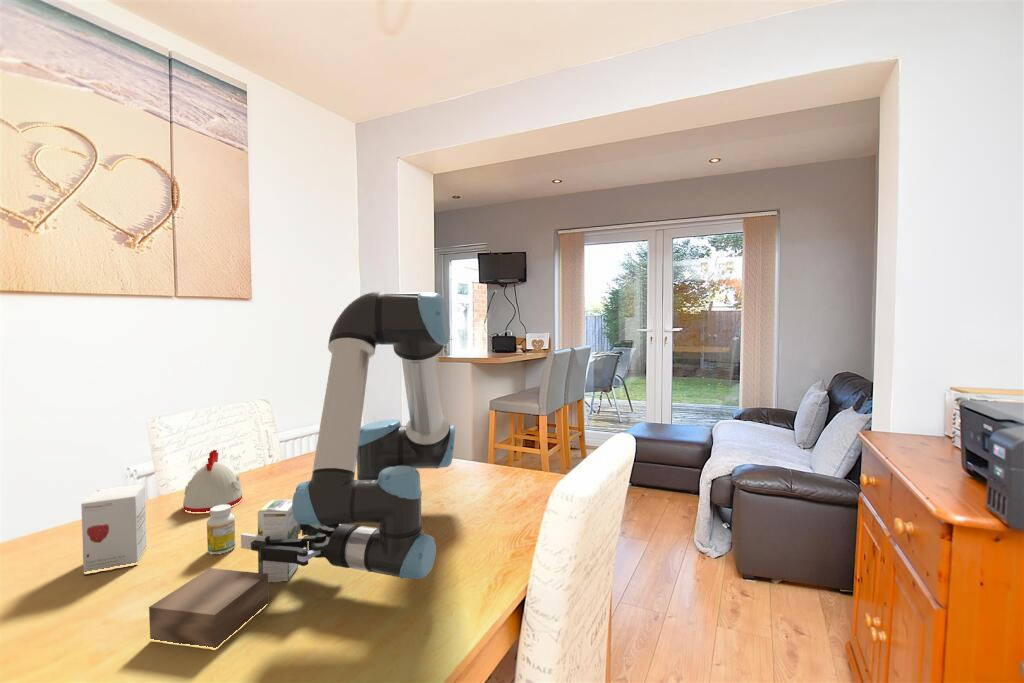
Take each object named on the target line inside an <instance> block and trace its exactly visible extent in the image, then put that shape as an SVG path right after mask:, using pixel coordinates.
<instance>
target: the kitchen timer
mask: <svg viewBox="0 0 1024 683" xmlns="http://www.w3.org/2000/svg"><path fill="white" fill-rule="evenodd" d="M208 455H209V457H208V458H207V463H206V464H205V465H203V466H202V467H200V468H199V469H198V470H197V471H196V472H195V474H194V475H193V476H192V478H191V479H190V480H189V481H188V483H187V485H185V487H184V499H183V503H182V504H183V505H182V507H184V509H185V510H187V511H191V512H206V511H210V509H211V508H212V507H215V506H218V505H225V504H226V505H231V506H232V505H234V504H236V503H238V502H239V501H240V500H241V499H242V500H243V492H242V484H241V480H240V475H239V474H238V475H236V474H235V473H234V472H233V471H232V470H231V469H230V468H229V467H228V466H226V465H225V464H224V463H221V462H219V461H218V460H219V452H218V450H217V449H213V450H211V451H210V452H209V453H208Z"/></svg>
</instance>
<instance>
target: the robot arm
mask: <svg viewBox="0 0 1024 683" xmlns="http://www.w3.org/2000/svg"><path fill="white" fill-rule="evenodd" d="M446 304H447V303H446V301H445V299H444V297H443V296H442V295H441V294H440V293H437V292H426V291H419V292H398V291H396V292H390V291H389V292H381V291H374V292H369V293H365V294H362V295H360V296H358V297H357V298H356V299H354V300H353V301H352V302H350V303H349V304H348V305H347V306H346V307H345V308H344V310H342V312H341V313H340V314H339V316H338V318H337V319H336V320H335V322H334V323H333V326H332V329H331V332H330V335H329V339H328V344H327V350H328V351H329V353H330V354H331V358H330V364H329V365H330V366H329V369H328V375H327V383H326V389H325V394H324V401H323V406H322V412H321V419H320V424H319V431H318V436H317V441H316V442H317V443H316V449H315V453H314V460H313V466H312V474H311V479H310V480H306V481H301V482H300V483H299V484H298V485H297V486H296V488H295V492H294V494H293V496H292V500H293V501H292V513H293V517H294V519H295V521H296V522H298V535H300V534H301V537H303V538H298V539H280V540H271V537H270V536H261V535H258V534H253V533H247V532H243V533H241V534H240V548H241V549H243V550H245V549H246V550H250V551H254V552H258V551H259V552H260V560H262V561H273V562H284V563H296V564H298V566H301V567H305V566H308V565H309V560H311V559H312V558H315V559H319V558H325V559H326V560H327V562H328V563H329V564H330V565H332V566H334V567H339V568H345V569H353V570H358V571H365V572H368V573H376V574H380V575H386V576H391V577H397V578H400V579H410V580H423V579H425V578H426V577H427V576H428V575H429V574H430V573H431V570H432V569H433V567H434V564H435V561H436V560H435V559H436V555H437V544H436V542H435V538H434V537H433V536H431V535H429V534H427V533H423V526H422V490H421V489H422V488H421V475H420V472H419V469H438V470H439V469H441V468H442V469H443V468H448V467H450V466H451V465H452V463H453V457H454V448H455V447H454V446H455V437H456V436H455V435H456V426H455V425H454V424H451V423H450V422H449V420H448V419H447V417H446V416H445V415H444V414H443V413H444V412H443V400H442V388H441V375H440V362H439V355H440V354H441V353H442V351H443V349H444V347H445V345H447V344H448V343H449V342H450V338H451V336H450V333H451V332H450V330H451V329H450V322H449V318H450V317H449V312H448V308H447V305H446ZM378 345H381V346H382V345H385V346H386V345H388V346H390V345H392V346H393V351H394V353H395V355H396V356H397V357H398V358H400V359H401V363H402V371H403V377H404V385H405V392H406V400H407V401H406V402H407V409H408V414H409V420H408V421H407V423H406V425H402V423H401V421H400V420H399V419H384V420H379V421H373V422H370V423H367V424H364V425H363V426H362V420H363V419H362V418H363V410H364V403H365V397H366V396H365V395H366V387H367V381H368V380H367V379H368V371H369V362H370V358H373V356H375V354H376V346H378ZM355 474H356V476H357V477H356V479H355ZM358 524H378V527H374V526H373V527H372V526H367V525H358Z"/></svg>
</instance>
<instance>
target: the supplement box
mask: <svg viewBox="0 0 1024 683" xmlns="http://www.w3.org/2000/svg"><path fill="white" fill-rule="evenodd" d="M80 510H81V527H82V531H81V532H82V560H83V561H82V562H83V563H82V564H83V568H82V569H83V573H84V572H87V571H92V570H98V569H104V568H110V567H114V566H120V565H126V564H131V563H136V562H138V561H139V559H140V557H141V555H142V553H143V551H144V549H145V547H147V524H146V523H147V522H146V521H147V520H146V519H147V518H146V484H145V483H143V484H142V483H141V484H135V485H127V486H117V487H110V488H101V489H94V490H93V492H92V493H90V495H89V496H87V497H86V499H84V501H82V502H81V509H80Z"/></svg>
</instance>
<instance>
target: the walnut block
mask: <svg viewBox="0 0 1024 683" xmlns="http://www.w3.org/2000/svg"><path fill="white" fill-rule="evenodd" d="M268 603H269V604H270V601H269V583H268V574H264V573H258V572H255V571H254V572H253V571H245V570H244V571H241V570H232V569H222V568H213V567H212V568H211V567H209V568H208V569H206V570H205V571H203V572H201V573H200V574H199V575H197V576H195V577H193V578H192V579H190V580H188V581H187V582H186V583H185V584H183V585H181V586H180V587H178V588H176V589H175V590H173V591H172V592H170V593H169V594H167V595H165V596H164V597H162V598H161V599H160V600H158V601H156V602H155V603H154V604H152V605H150V606H149V607H148V614H149V616H148V617H149V619H148V620H149V640H150V639H154V640H160V641H167V642H173V643H179V644H181V643H182V644H190V645H199V646H206V647H207V646H208V647H213V648H216V647H218V646H219V645H220V644H221V643H222V642H223V641H224V640H226V639H227V638H228V637H229V636H230V635H232V634H233V633H234V632H235V631H236V630H238V629H239V628H240V627H241V626H242V625H243V624H244V623H245V622H247V621H248V620H249V619H250V618H251V617H252V616H254V615H255V614H256V613H257V612H258V611H259V610H260V609H262V608H263V607H264V606H265V605H266V604H268Z"/></svg>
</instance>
